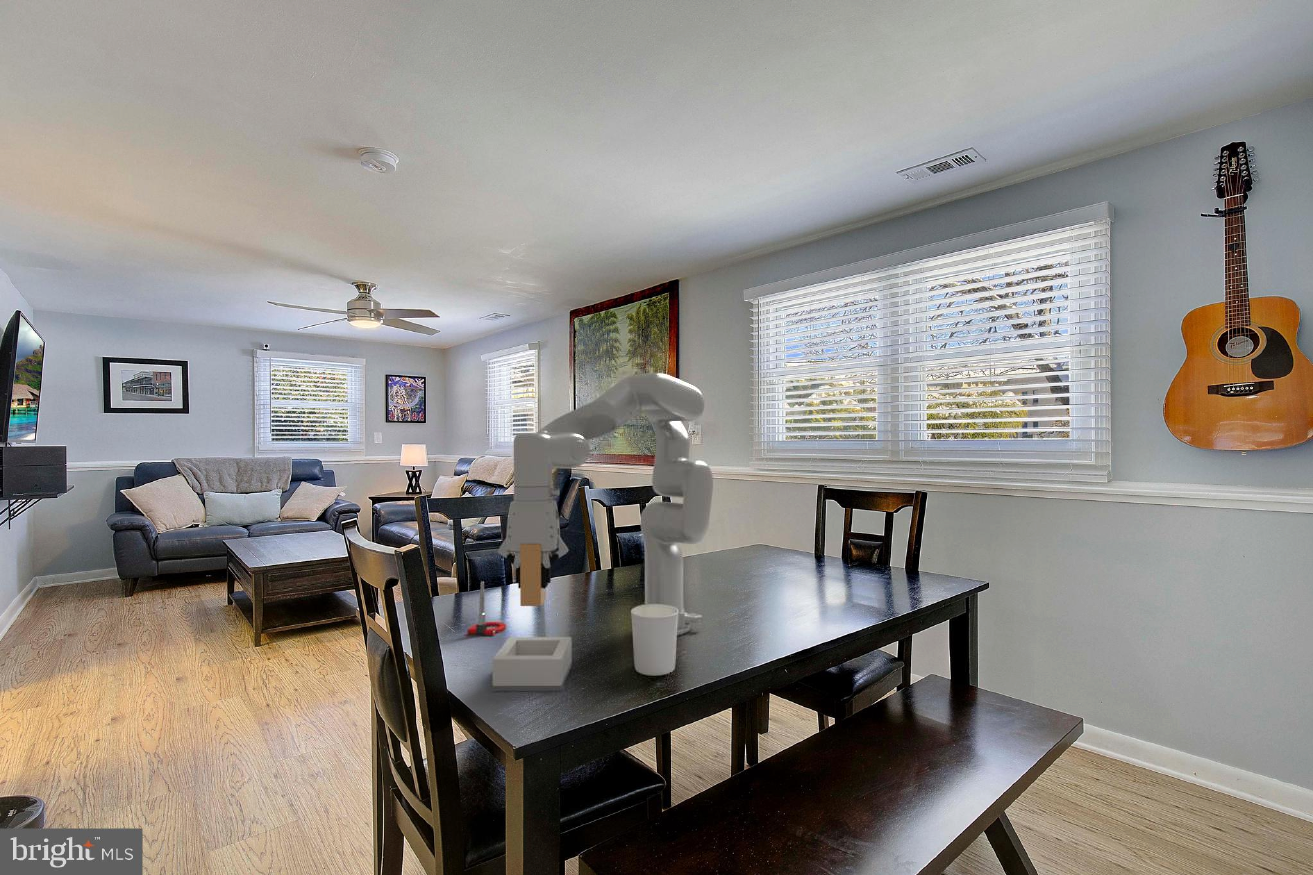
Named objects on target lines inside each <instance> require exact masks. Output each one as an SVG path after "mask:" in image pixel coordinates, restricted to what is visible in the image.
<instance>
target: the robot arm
mask: <svg viewBox="0 0 1313 875" xmlns="http://www.w3.org/2000/svg"><path fill="white" fill-rule="evenodd" d="M704 410H705V399H704V395H703V394H702V392H701V390H700V389H698V388H697V387H696V386H694V385H692V384H689V383H688V382H685V381H683V380H681V379H680V378H676V377H674V376H671V375H669V374H666V373H662V372H647V373H636V374H631V375H628V376H626V377H624V378H622V379H621V380H619V381H618V382H617V383H615V384H614V385H613V386H612V387H610V388H609V389H607V390H606V391H605V392H603V393H602V394H601V395H600V396H598V397H597V398H595V399H594V400H592V401H591V402H589V403H587V404H583V405H582V406H580V407H577V408H576V409H574V410H571V411H569V412H567V413H565V414H562V415H561V416H559V417H557V418H555V419H554V420H552V421H550V422H549V423H548V424H546V425H545V426H543V427H542V428H541V429H539V430H538V431H537V432H525V433H518V434H516V435H515V437H514V439H513V501H511V502H510V504H509V507H508V508H509V509H508V514H507V522H506V523H507V524H506V538H505V539H504V540H503V541H502V543H501V545H500V546H499V548H498V549H497V553H498V554H499V555H501V556H502V557H504V558H506V560H508V561H509V563H511V564H512V565H513V568H514V569H515V584H518V585H517V587H518V588H517V589H520V544H541V552H542V557H543V562H544V565H543V568H542V588H546V589H547V587H548V586H549V584H550V583H551V581H552V579H551V578H552V575H551V574H552V570H551V569H552V565H554V563H555V562H556V561H557V560H559V559H560V558H561V557H562V556H564V555H566V554H567V553H568V552H569V548H568V546H567V545H566V543H565V542H564V541H563V539H562V537H561V530H560V529H561V527H560V517H559V509H558V504H557V501H556V500H553V499H554V497H556V496H557V497H558V496H559V497H560V489H559V488H557V489H556V488H555V487H554V486H553V468H554V469H567V470H569V469H575V468H579V467H581V466H583V465H584V464H585V463H586V462H587V460H588V459H589V458H590V454H591V447H590V444H589V442H588V441H590V440H594V439H598V438H603V437H605V436H608V435H611V434H614V433H616V432H617V431H619V429H620V430H621V428H622V427H623V426H625V425H626V424H627V423H628V422H629V421H630V420H632V419H633V418H634V417H635V416H636V415H638V414H639V413H640V412H642V413H643V414H644V416H645V418H646V419H647V420H648V422H649V423H650V426H652V429H653V431H654V433H655V437H656V438H655V440H656V441H655V442H656V445H655V454H654V462H653V469H652V470H653V471H652V478H651V479H652V480H651V482H652V483H651V486H652V490H653V492H654V493H656V495H660V496H663V497H668V498H679V499H683V500H682V502H683V503H682V502H681V503H679V502H670V501H656V502H652V503H649V504H648V505H647V506H645V508H644V509H643V510H642V512H641V514H640V520H639V521H640V530H641V536H642V540H643V546H644V605H648V604H662V605H669V606H673V607H675V608H677V609H678V622H677V636H680V635H683V634H686V633H688V632H689V631H690V630H691V629H690V627H691V626H690V623H691V624H693V623H694V624H702V623H703V618H702V617H703V615H702V614H697V613H692V612H691V613H688V612H686V611H685V608H684V558H683V557H684V556H683V552H682V550H681V547H680V546H679V544H685V545H697V544H699V543H701V542H702V541H703V540H704V539H705V537H706V535H707V532H708V529H709V524H710V515H711V509H712V508H711V507H712V502H713V501H712V500H713V491H714V477H713V476H714V475H713V472H712V469H711V468H710V466H709V465H708V464H707V463H706V462H705V461H702V460H699V459H690V446H691V444H690V443H691V441H690V437H689V436H690V435H689V433H688V431H687V429H686V428H685V426H684V424H683V423H682V422H693V421H696V420H697V419H699V418H700V417H701V416H702V414H703V412H704ZM557 548H558V550H557ZM556 550H557V551H556ZM555 551H556V552H555ZM552 552H555V553H554V554H552Z"/></svg>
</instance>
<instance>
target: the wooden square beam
mask: <svg viewBox="0 0 1313 875" xmlns="http://www.w3.org/2000/svg"><path fill="white" fill-rule="evenodd" d="M543 565H544V562H543V557H542V552H541V544H520V588H519V590H520V592H519V594H520V595H519V596H520V598H519V599H520V603H519V604H520V607H541V606H543V604H544V603H545V601H546V600H547V598H546V597H547V595H546V594H547V587H546V588H542V568H543Z"/></svg>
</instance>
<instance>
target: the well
mask: <svg viewBox="0 0 1313 875" xmlns="http://www.w3.org/2000/svg"><path fill="white" fill-rule="evenodd" d="M571 668H572V637H571V636H536V637H535V636H530V637H529V636H524V637H523V636H520V637H519V636H517V637H516V636H515V637H513V636H509V637H508V639H507V640H506V641H505V642H504V644H503V645H502V647H500V649H499V650H498V652H497V653H496V654H495V656H494V657H493V658H492V692H562V691H563V688H564V685H565V683H566V680H567V678H568V675H569V674H570V670H571Z"/></svg>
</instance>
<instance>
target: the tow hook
mask: <svg viewBox="0 0 1313 875" xmlns="http://www.w3.org/2000/svg"><path fill="white" fill-rule="evenodd" d="M485 593H486V592H485V582H484V581H480V590H479V601H478V602H479V603H478V604H479V607H478V608H479V610H478V611H479V612H478V619H477V620H478V621H477V622H478V623H475V624H473V625H471V627H470V628H468V629H467V635H472V636H473V635H476V636H492V635H493V637H494V636H495V635H496V634H497V633H500V632H503V631H505V630H506V629H507V624H506V623H504V622H500V621H486V613H485V597H486V596H485ZM497 626H498V627H497ZM488 627H492V628H488ZM487 628H488V629H487Z"/></svg>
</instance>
